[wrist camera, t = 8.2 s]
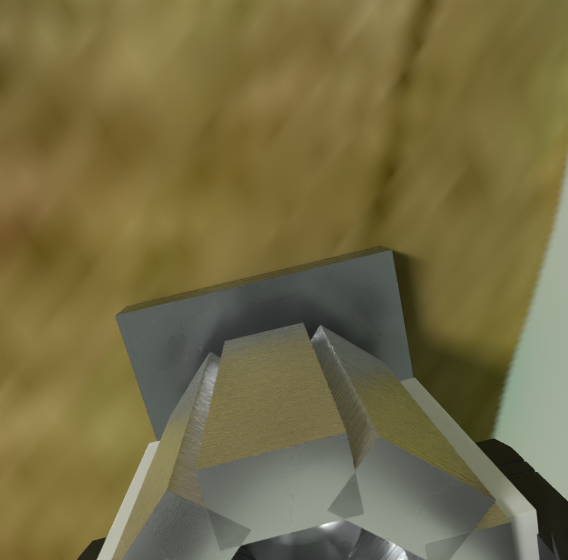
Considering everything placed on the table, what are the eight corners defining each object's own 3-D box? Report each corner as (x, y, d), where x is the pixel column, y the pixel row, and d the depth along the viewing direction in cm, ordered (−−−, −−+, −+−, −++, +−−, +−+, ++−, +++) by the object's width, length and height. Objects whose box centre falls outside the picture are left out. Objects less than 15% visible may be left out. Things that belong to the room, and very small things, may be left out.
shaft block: (127, 306, 17) (20, 390, 10) (380, 246, 18) (479, 279, 10) (197, 522, 20) (159, 729, 12) (419, 466, 20) (522, 632, 12)
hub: (145, 360, 14) (39, 509, 7) (380, 303, 14) (496, 395, 7) (209, 556, 16) (173, 823, 9) (416, 503, 16) (535, 724, 9)
